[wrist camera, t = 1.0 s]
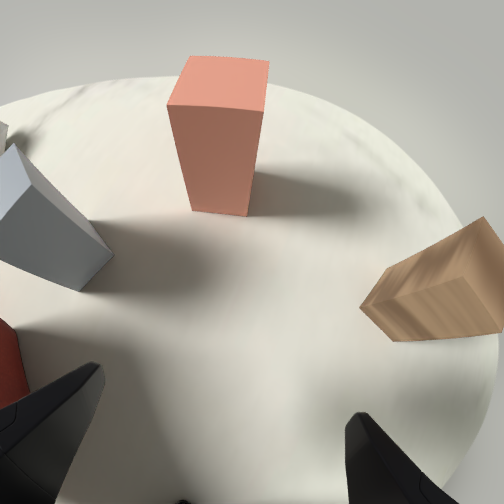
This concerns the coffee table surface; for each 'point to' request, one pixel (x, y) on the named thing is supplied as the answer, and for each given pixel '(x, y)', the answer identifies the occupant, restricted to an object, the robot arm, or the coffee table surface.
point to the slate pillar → (45, 227)
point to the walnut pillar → (443, 289)
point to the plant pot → (10, 368)
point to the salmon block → (218, 129)
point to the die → (3, 137)
